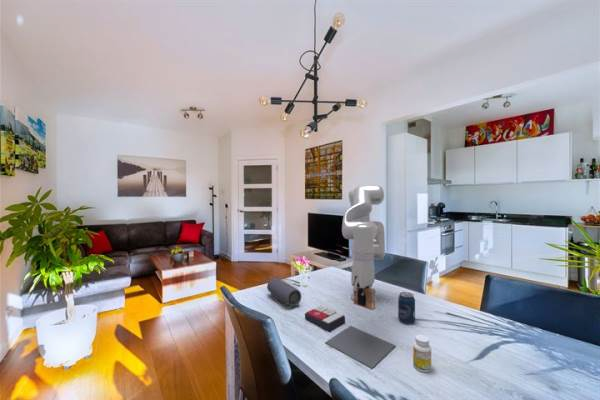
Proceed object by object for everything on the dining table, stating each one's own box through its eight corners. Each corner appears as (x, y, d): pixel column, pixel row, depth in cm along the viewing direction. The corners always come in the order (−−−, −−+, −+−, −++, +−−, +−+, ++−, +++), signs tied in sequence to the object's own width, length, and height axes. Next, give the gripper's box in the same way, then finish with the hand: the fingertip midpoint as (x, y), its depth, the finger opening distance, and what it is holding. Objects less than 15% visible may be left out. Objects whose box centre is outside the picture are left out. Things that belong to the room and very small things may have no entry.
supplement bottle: (429, 375, 77) (429, 345, 77) (411, 367, 80) (411, 338, 80) (433, 366, 81) (433, 337, 81) (415, 359, 85) (415, 331, 84)
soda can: (395, 321, 110) (395, 294, 110) (401, 315, 115) (401, 290, 115) (412, 326, 105) (411, 299, 105) (417, 320, 111) (417, 294, 110)
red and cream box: (320, 304, 121) (345, 313, 109) (321, 313, 121) (345, 323, 109) (304, 311, 113) (328, 322, 102) (304, 321, 113) (329, 333, 102)
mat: (350, 326, 106) (350, 325, 106) (395, 346, 92) (395, 345, 92) (325, 343, 95) (325, 342, 95) (372, 369, 80) (372, 367, 80)
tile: (357, 301, 99) (357, 284, 99) (375, 308, 93) (375, 289, 93) (353, 304, 97) (353, 286, 97) (371, 310, 91) (371, 291, 91)
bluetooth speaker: (302, 306, 127) (302, 286, 127) (287, 311, 121) (286, 291, 121) (280, 292, 146) (280, 275, 145) (266, 296, 140) (266, 278, 140)
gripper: (366, 251, 103) (366, 294, 103) (343, 258, 92) (343, 307, 92) (383, 254, 98) (383, 300, 98) (360, 262, 86) (361, 313, 87)
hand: (364, 303), depth 95 cm, fingers closed on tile, 2 cm apart
